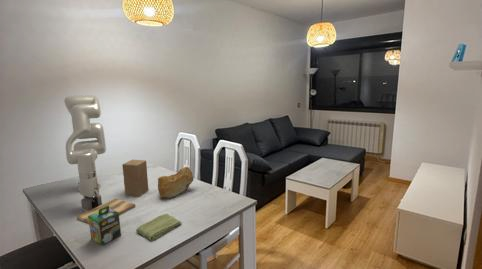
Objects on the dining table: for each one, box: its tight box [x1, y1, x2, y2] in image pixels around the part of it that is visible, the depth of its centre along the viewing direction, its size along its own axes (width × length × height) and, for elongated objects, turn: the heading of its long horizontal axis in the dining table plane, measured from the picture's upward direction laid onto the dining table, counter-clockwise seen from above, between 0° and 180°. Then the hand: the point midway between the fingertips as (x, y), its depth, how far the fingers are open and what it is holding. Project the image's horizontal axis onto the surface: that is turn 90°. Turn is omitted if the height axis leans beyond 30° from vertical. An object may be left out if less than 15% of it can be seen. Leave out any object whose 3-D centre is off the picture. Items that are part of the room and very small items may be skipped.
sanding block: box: [80, 194, 103, 212], centre depth 137 cm, size 5×8×6 cm, turn 155°
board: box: [76, 198, 136, 224], centre depth 133 cm, size 16×22×2 cm
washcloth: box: [136, 213, 182, 241], centre depth 118 cm, size 13×18×3 cm
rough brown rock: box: [157, 166, 194, 199], centre depth 157 cm, size 23×17×15 cm
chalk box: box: [88, 206, 122, 246], centre depth 110 cm, size 9×9×15 cm
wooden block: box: [122, 159, 149, 197], centre depth 155 cm, size 10×10×20 cm
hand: (91, 206), depth 138 cm, fingers closed on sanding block, 5 cm apart
